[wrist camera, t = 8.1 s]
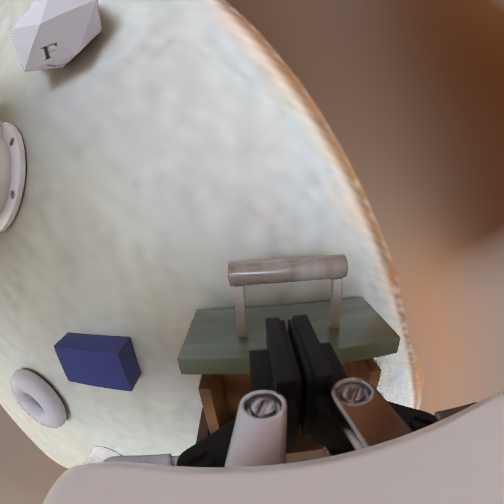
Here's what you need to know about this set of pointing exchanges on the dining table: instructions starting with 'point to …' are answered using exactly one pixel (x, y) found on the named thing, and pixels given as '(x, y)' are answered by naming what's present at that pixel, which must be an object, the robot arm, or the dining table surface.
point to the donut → (38, 398)
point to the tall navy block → (99, 360)
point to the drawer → (254, 330)
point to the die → (54, 32)
